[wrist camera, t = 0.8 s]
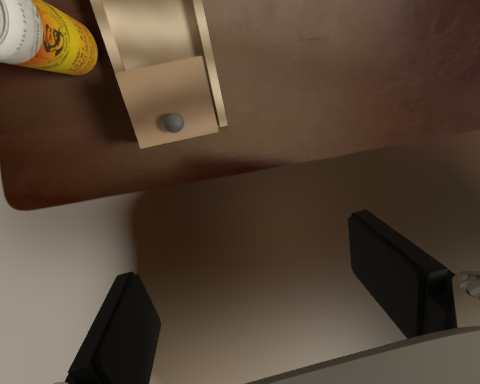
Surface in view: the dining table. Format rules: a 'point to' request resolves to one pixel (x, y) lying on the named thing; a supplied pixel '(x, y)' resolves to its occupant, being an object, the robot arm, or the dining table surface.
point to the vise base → (158, 37)
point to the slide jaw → (168, 101)
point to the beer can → (44, 38)
